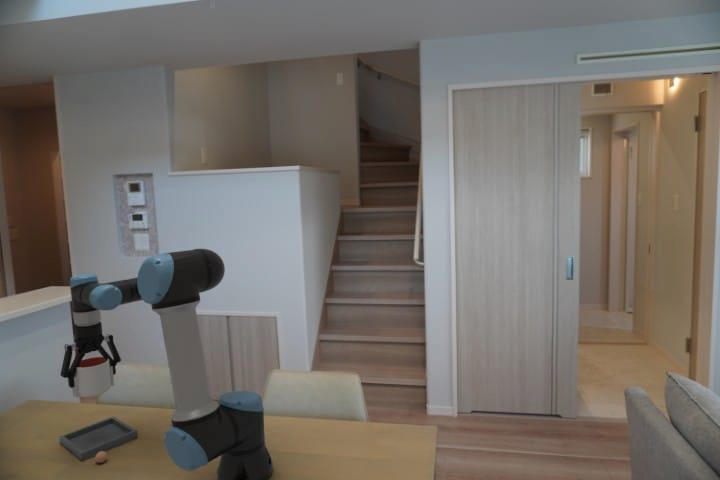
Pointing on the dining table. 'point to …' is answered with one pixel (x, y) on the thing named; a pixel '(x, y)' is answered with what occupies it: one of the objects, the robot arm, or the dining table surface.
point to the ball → (101, 457)
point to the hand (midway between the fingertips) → (94, 390)
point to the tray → (97, 438)
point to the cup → (93, 377)
